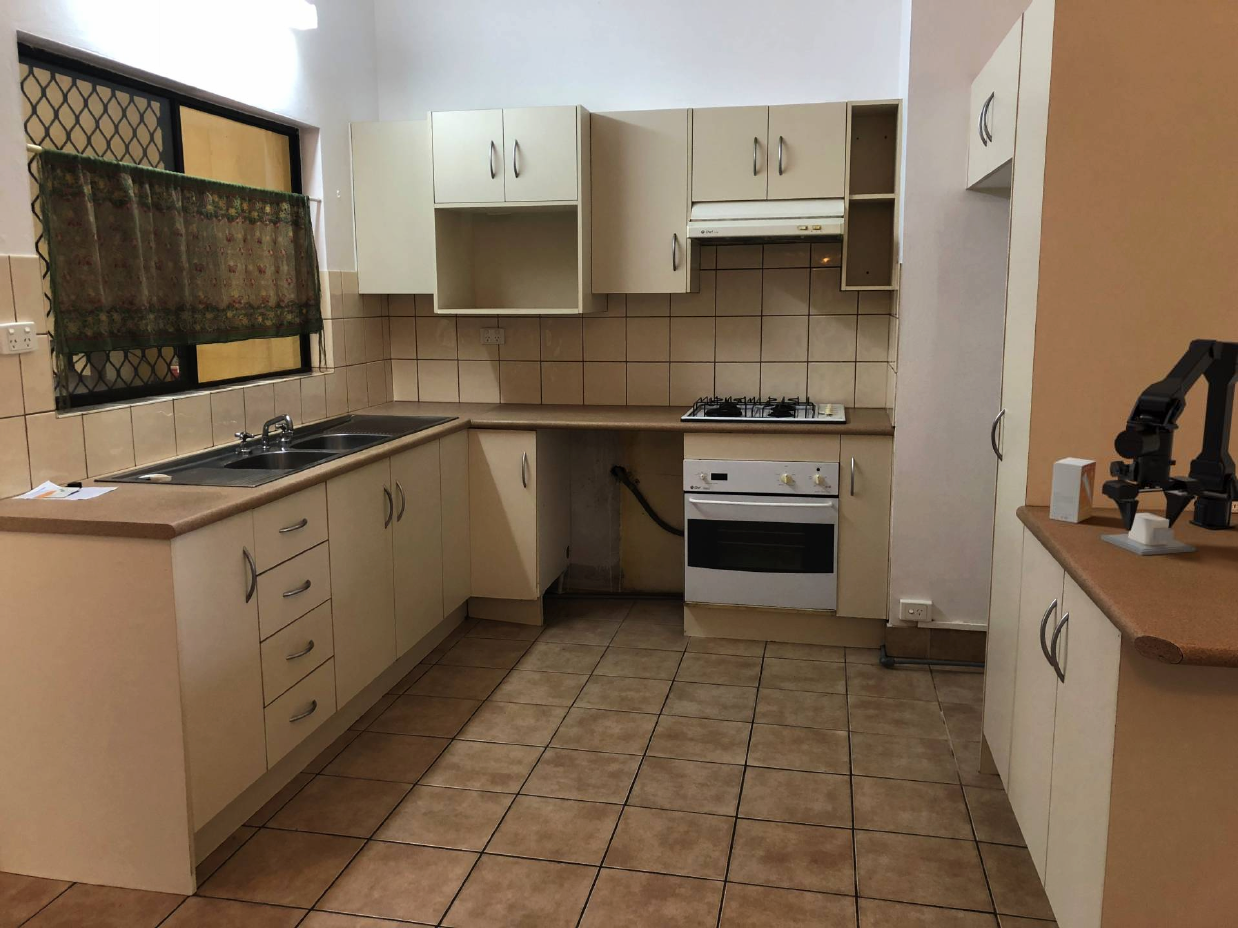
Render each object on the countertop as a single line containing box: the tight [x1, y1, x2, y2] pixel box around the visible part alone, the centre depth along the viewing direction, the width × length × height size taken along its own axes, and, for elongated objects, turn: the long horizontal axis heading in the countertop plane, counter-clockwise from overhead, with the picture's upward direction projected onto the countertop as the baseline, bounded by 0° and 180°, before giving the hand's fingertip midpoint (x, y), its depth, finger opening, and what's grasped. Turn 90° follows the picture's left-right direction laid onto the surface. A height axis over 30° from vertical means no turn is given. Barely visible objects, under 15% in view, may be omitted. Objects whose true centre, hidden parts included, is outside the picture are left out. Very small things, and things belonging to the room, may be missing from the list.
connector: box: [1128, 512, 1175, 545], centre depth 199 cm, size 4×8×5 cm, turn 11°
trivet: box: [1100, 533, 1196, 556], centre depth 200 cm, size 12×12×1 cm
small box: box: [1049, 456, 1097, 524], centre depth 221 cm, size 8×6×13 cm
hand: (1148, 529), depth 200 cm, fingers open, 9 cm apart
